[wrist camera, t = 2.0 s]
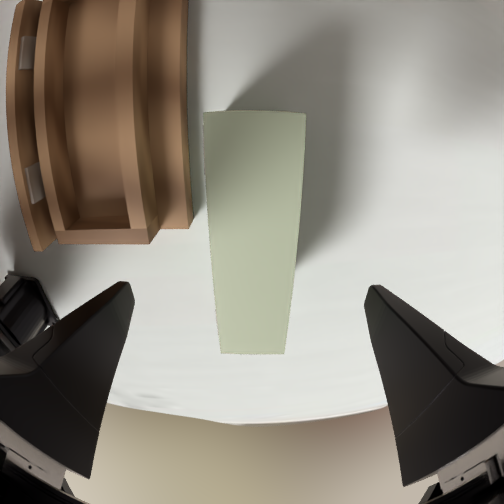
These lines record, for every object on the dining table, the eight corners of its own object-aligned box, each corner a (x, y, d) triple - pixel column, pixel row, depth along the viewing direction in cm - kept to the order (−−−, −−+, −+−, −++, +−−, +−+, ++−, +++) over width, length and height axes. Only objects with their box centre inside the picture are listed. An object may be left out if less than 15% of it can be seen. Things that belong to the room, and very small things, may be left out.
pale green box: (276, 280, 20) (284, 354, 14) (227, 279, 20) (217, 353, 14) (285, 111, 14) (306, 113, 8) (221, 110, 14) (197, 113, 8)
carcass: (193, 219, 18) (176, 253, 14) (66, 223, 18) (34, 251, 14) (191, -34, 9) (172, -66, 5) (53, 12, 9) (16, 4, 5)
